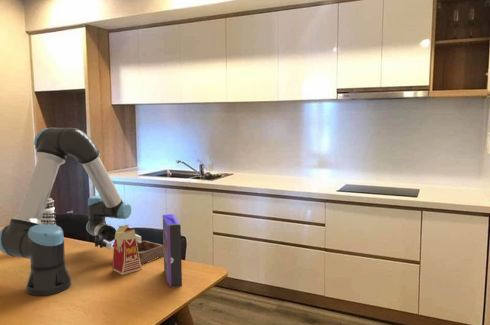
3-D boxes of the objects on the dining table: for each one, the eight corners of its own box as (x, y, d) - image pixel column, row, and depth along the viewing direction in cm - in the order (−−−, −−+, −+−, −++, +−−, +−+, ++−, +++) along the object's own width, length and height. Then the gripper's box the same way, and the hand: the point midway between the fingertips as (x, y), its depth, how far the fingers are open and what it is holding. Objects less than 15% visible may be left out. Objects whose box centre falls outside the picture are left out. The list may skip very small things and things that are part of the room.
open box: (164, 255, 187) (164, 245, 186) (141, 264, 175) (141, 253, 175) (144, 250, 194) (143, 240, 194) (121, 258, 183) (121, 248, 182)
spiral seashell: (37, 246, 200) (34, 197, 198) (58, 244, 204) (55, 196, 202) (37, 252, 192) (33, 201, 190) (58, 249, 196) (55, 199, 193)
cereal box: (164, 270, 168) (162, 214, 166) (175, 269, 170) (174, 213, 167) (169, 287, 152) (167, 225, 149) (181, 285, 153) (180, 224, 151)
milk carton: (142, 269, 170) (140, 223, 168) (122, 275, 164) (120, 227, 161) (130, 264, 176) (128, 219, 174) (111, 269, 170) (109, 223, 167)
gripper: (131, 235, 195) (152, 245, 179) (78, 246, 178) (97, 258, 163) (130, 220, 194) (152, 229, 178) (77, 229, 178) (96, 240, 162)
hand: (125, 243), depth 170 cm, fingers open, 13 cm apart
